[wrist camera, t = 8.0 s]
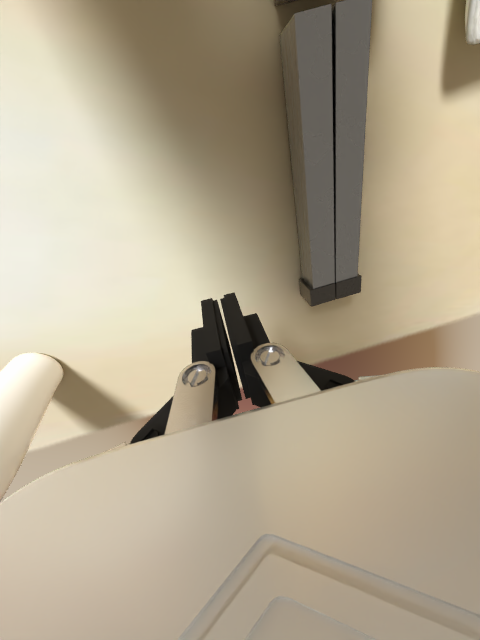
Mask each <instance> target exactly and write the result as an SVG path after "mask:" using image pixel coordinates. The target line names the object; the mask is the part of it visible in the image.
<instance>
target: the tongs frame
mask: <svg viewBox="0 0 480 640" xmlns="http://www.w3.org/2000/svg"><path fill="white" fill-rule="evenodd" d="M292 1H296V0H275V6H276V5H280V4H284V3H288V2H292ZM331 12H332V95H333V178H334V262H335V298H336V299H339V298H342V297H346V296H349V295H352V294H356V293H359V292H360V291H361V275H359V274H358V255H359V237H360V218H361V199H362V181H363V162H364V143H365V124H366V106H367V87H368V68H369V49H370V31H371V12H372V0H344V1H340V2H337V3H335V4H334V5H333V6H332V7H331Z"/></svg>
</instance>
